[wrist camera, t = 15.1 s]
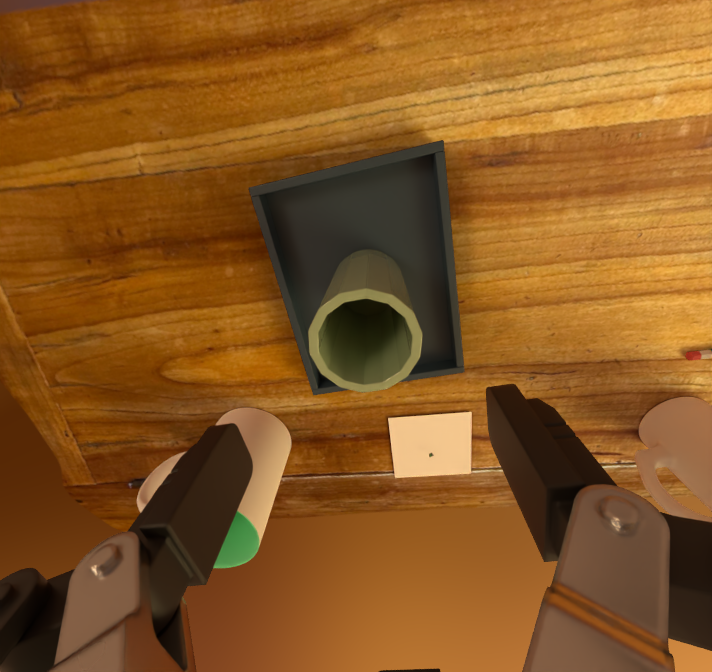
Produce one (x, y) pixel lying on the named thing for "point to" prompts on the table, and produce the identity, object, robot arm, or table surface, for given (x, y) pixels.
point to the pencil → (699, 355)
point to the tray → (368, 244)
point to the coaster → (431, 444)
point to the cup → (366, 325)
